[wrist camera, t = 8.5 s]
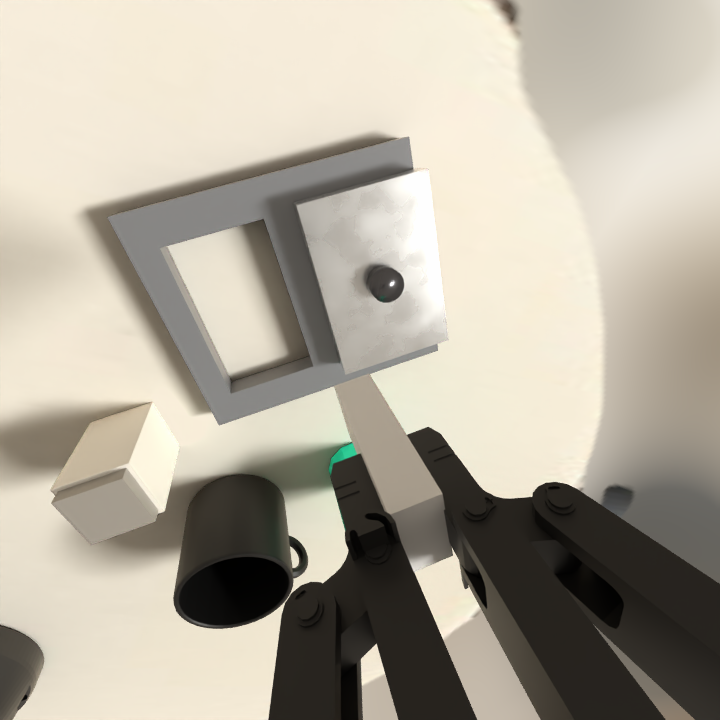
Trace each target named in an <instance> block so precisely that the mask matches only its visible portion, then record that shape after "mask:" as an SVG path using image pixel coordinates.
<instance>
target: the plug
mask: <svg viewBox="0 0 720 720" xmlns="http://www.w3.org/2000/svg"><path fill="white" fill-rule="evenodd" d="M179 447H180V445H179V443H178V442H177V440H176V439H175V437H174V435H173V434H172V432H171V431H170V429H169V427H168V426H167V424H166V423H165V421H164V419H163V418H162V416H161V415H160V413H159V411H158V410H157V408H156V407H155V405H154V403H153V402H151V403H148V404H145V405H142V406H139V407H136V408H133V409H129V410H126V411H123V412H120V413H117V414H114V415H111V416H108V417H105V418H102V419H99V420H96V421H93V422H90V424H89V426H88V428H87V429H86V431H85V433H84V434H83V436H82V438H81V439H80V441H79V443H78V444H77V446H76V448H75V449H74V451H73V453H72V454H71V456H70V458H69V459H68V461H67V463H66V464H65V466H64V468H63V469H62V471H61V473H60V475H59V476H58V478H57V480H56V481H55V483H54V485H53V486H52V488H51V491H52V493H53V494H54V495H55V497H54V499H53V501H52V503H51V504H52V505H53V506H54V507H55V508H56V509H57V510H58V511H59V512H60V513H61V514H62V515H63V516H64V517H65V518H66V519H67V520H68V521H69V522H70V523H71V525H72V526H73V527H74V528H75V529H76V530H77V531H78V532H79V533H80V534H81V535H82V536H83V537H84V538H85V539H86V540H87V541H88V542H89V543H90V544H91V545H93V544H95V543H98V542H101V541H104V540H106V539H109V538H112V537H115V536H117V535H120V534H123V533H126V532H128V531H131V530H134V529H137V528H139V527H142V526H145V525H148V524H150V523H153V522H156V519H157V515H158V514H159V513H162V512H165V508H166V504H167V499H168V495H169V491H170V486H171V482H172V478H173V473H174V469H175V465H176V460H177V456H178V452H179Z"/></svg>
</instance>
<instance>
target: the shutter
mask: <svg viewBox="0 0 720 720" xmlns="http://www.w3.org/2000/svg"><path fill="white" fill-rule="evenodd" d="M293 204H294V208H295V211H296V214H297V218H298V221H299V225H300V228H301V231H302V235H303V238H304V242H305V245H306V248H307V252H308V255H309V259H310V262H311V265H312V269H313V272H314V276H315V279H316V283H317V286H318V289H319V293H320V296H321V300H322V303H323V306H324V310H325V313H326V317H327V320H328V323H329V327H330V330H331V334H332V337H333V340H334V344H335V347H336V351H337V354H338V357H339V361H340V364H341V366H342V368H343V370H344V372H345V375H346V374H349V373H352V372H355V371H358V370H361V369H364V368H367V367H370V366H373V365H376V364H379V363H382V362H385V361H388V360H391V359H393V358H396V357H399V356H402V355H405V354H408V353H411V352H414V351H417V350H420V349H423V348H426V347H429V346H432V345H435V344H438V343H441V342H443V341H446V340H448V331H447V323H446V314H445V306H444V298H443V289H442V281H441V272H440V264H439V255H438V247H437V238H436V230H435V221H434V213H433V204H432V196H431V187H430V179H429V170H428V169H427V168H415V169H412V170H408V171H404V172H401V173H397V174H394V175H390V176H386V177H383V178H379V179H376V180H372V181H368V182H365V183H361V184H358V185H354V186H351V187H347V188H343V189H340V190H336V191H333V192H329V193H325V194H322V195H318V196H315V197H311V198H307V199H304V200H300V201H297V202H293Z"/></svg>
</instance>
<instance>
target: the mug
mask: <svg viewBox="0 0 720 720" xmlns="http://www.w3.org/2000/svg"><path fill="white" fill-rule="evenodd" d="M290 546H291V547H292V548H293V549H294V550H295V551H296V552H297V554H298V556H299V565H298V566H297V567H296V568H292V562H291V553H290ZM307 566H308V556H307V553H306V550H305V548H304V547H303V545H302V544H301V543H300V542H299V541H298V540H297V539H295V538H294V537H291V536H289V535H288V527H287V519H286V510H285V502H284V498H283V495H282V493H281V492H280V490H279V489H278V488H277V487H276V486H275V485H274V484H273V483H271V482H270V481H268V480H266V479H264V478H261V477H258V476H253V475H233V476H227V477H224V478H221V479H218V480H216V481H213V482H211V483H210V484H208V485H206V486H205V487H204V488H202V489H201V490H200V491H199V492H198V493H197V494H196V496H195V497H194V498H193V499H192V501H191V503H190V505H189V507H188V512H187V518H186V524H185V530H184V536H183V542H182V548H181V554H180V560H179V567H178V573H177V579H176V585H175V591H174V597H173V599H174V606H175V609H176V611H177V613H178V614H179V615H180V616H181V617H182V618H183V619H184V620H186V621H187V622H189V623H191V624H194V625H196V626H200V627H205V628H213V629H223V628H233V627H238V626H242V625H246V624H249V623H252V622H255V621H257V620H260V619H262V618H264V617H266V616H267V615H269V614H271V613H272V612H274V611H275V610H276V609H278V608H279V607H280V606H281V605H282V604H283V603H284V602H285V600H286V599H287V598H288V596H289V594H290V592H291V590H292V587H293V578H297V577H299V576H300V575H301V574H303V573H304V572H305V570H306V568H307Z"/></svg>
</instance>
